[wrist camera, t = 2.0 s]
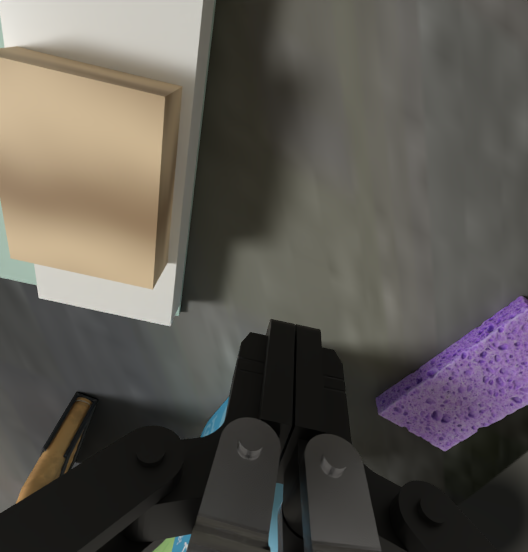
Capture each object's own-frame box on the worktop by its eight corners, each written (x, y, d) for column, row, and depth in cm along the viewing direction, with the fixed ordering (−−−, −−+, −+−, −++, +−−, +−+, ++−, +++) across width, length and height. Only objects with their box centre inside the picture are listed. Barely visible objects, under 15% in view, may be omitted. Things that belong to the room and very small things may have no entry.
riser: (21, -88, 16) (-16, -102, 14) (218, -39, 16) (207, -45, 14) (57, 277, 26) (38, 297, 24) (179, 304, 26) (170, 326, 24)
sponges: (373, 393, 31) (376, 414, 29) (520, 287, 24) (534, 306, 23) (437, 432, 32) (444, 453, 31) (589, 342, 26) (607, 363, 25)
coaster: (15, 46, 17) (-26, 50, 15) (182, 86, 17) (165, 96, 15) (38, 234, 22) (10, 258, 19) (167, 263, 22) (152, 289, 20)
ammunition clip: (76, 390, 33) (-25, 557, 23) (98, 398, 33) (8, 566, 23) (55, 455, 38) (-33, 612, 28) (74, 462, 39) (-7, 619, 29)
